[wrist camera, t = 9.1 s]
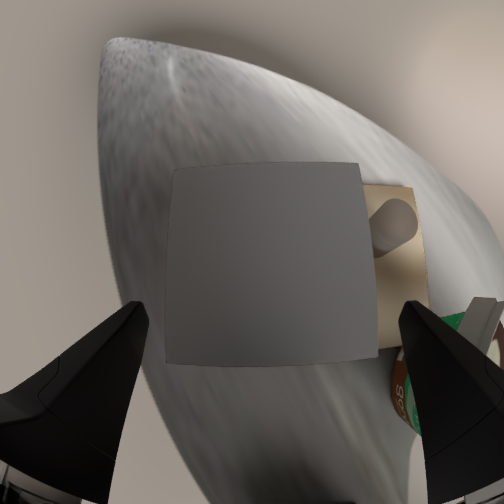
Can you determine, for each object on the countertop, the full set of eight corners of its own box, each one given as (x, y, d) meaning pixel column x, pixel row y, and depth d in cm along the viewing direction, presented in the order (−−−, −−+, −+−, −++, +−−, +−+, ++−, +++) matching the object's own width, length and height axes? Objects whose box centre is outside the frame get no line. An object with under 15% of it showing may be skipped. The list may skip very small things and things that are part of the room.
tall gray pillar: (313, 332, 15) (378, 356, 6) (228, 334, 16) (166, 363, 6) (309, 249, 16) (358, 163, 7) (227, 252, 17) (174, 169, 7)
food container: (339, 368, 16) (408, 416, 6) (402, 308, 17) (502, 290, 7) (416, 462, 13) (480, 517, 3) (467, 409, 14) (546, 435, 4)
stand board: (422, 339, 15) (464, 343, 11) (205, 353, 16) (181, 367, 12) (406, 193, 18) (437, 161, 13) (208, 192, 19) (190, 154, 14)
